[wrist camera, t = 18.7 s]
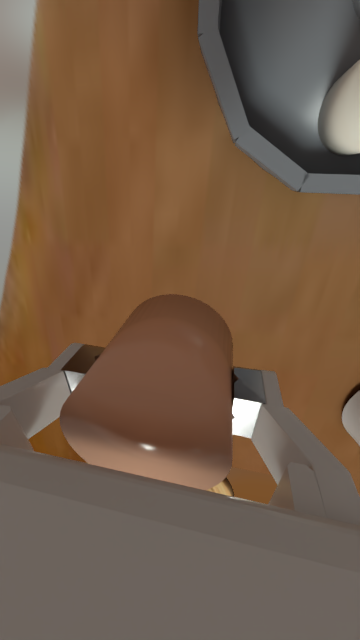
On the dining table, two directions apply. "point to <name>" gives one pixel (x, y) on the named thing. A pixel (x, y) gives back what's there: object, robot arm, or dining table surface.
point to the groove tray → (282, 82)
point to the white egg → (342, 114)
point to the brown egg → (159, 396)
